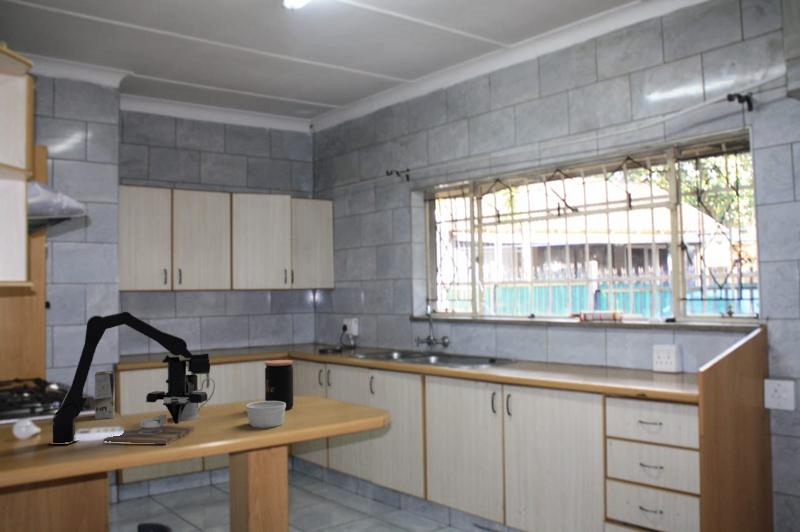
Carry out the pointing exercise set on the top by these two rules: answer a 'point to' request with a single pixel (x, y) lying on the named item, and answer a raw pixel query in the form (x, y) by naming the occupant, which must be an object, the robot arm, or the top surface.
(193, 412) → the grey black mug
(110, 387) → the coffee box
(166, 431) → the lock board
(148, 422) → the lock knob
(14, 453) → the top surface
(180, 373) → the robot arm
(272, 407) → the ramekin
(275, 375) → the coffee jar
